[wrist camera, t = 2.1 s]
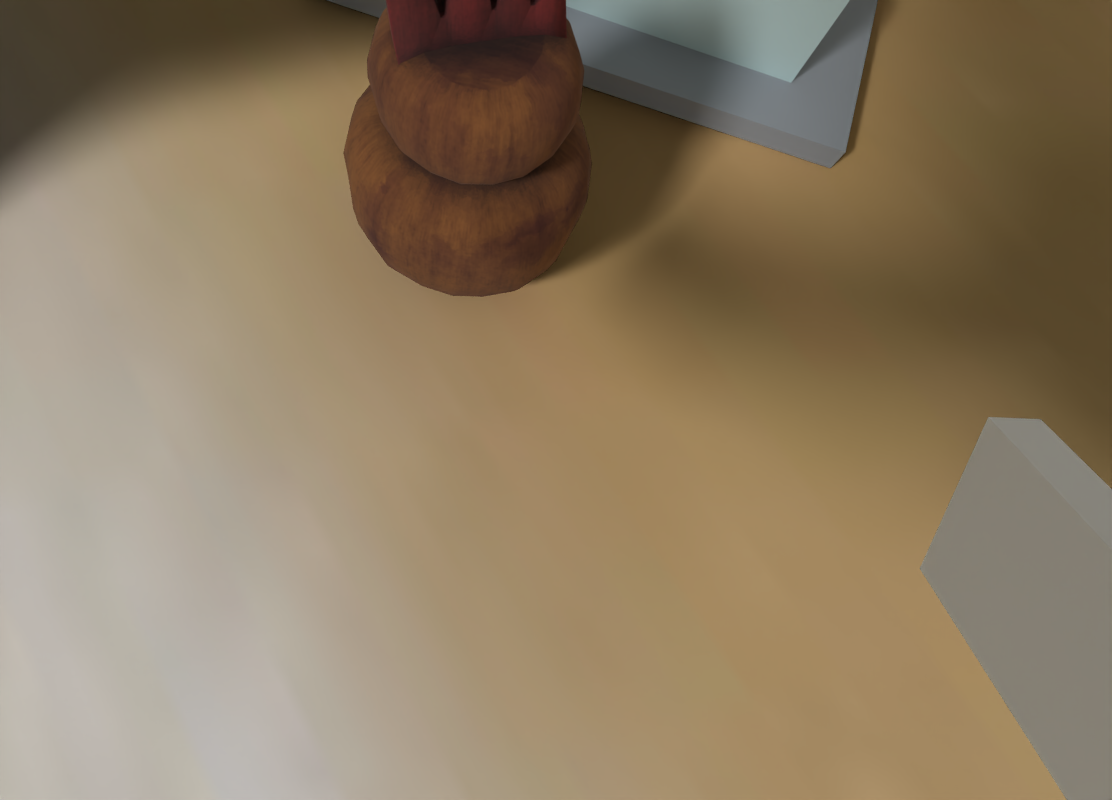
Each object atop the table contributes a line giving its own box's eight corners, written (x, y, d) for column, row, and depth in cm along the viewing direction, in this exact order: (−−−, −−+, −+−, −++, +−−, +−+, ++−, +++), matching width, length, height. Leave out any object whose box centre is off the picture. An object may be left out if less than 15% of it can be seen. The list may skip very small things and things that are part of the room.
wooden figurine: (347, 299, 28) (253, -11, 13) (379, 142, 29) (326, -295, 15) (549, 334, 29) (667, 76, 14) (572, 180, 30) (702, -202, 15)
